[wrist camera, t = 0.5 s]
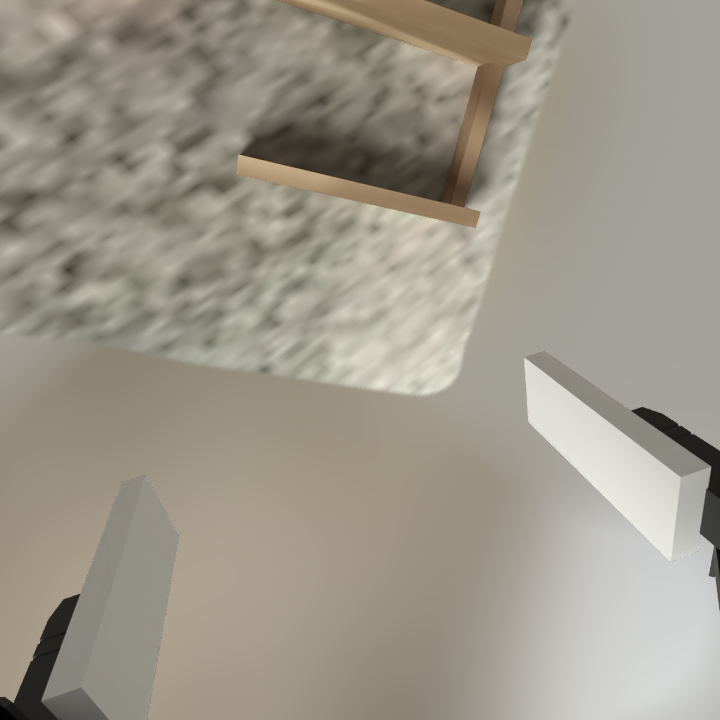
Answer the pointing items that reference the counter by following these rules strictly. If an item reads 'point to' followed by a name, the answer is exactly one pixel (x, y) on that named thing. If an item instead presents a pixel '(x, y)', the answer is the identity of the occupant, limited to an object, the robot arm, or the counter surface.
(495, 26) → the oak rack
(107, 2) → the counter surface
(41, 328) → the counter surface
